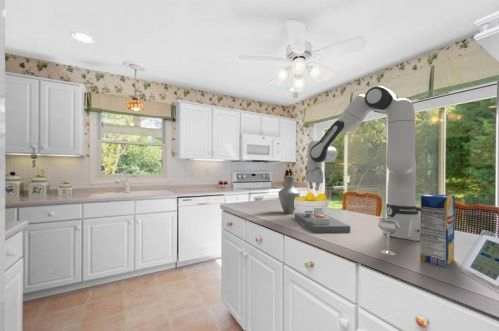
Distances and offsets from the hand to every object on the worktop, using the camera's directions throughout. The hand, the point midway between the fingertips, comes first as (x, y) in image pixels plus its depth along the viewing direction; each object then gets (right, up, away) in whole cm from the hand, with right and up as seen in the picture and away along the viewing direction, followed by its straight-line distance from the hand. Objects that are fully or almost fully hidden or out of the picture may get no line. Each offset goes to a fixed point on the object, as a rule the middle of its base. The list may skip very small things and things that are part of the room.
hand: (313, 189), depth 148 cm
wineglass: (+11, -17, -60) cm, 63 cm away
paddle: (+1, -14, -6) cm, 15 cm away
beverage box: (+24, -18, -67) cm, 73 cm away
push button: (-4, -12, -27) cm, 30 cm away
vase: (-13, -18, +15) cm, 27 cm away
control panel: (-2, -17, -18) cm, 25 cm away
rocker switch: (-6, -12, -11) cm, 17 cm away
